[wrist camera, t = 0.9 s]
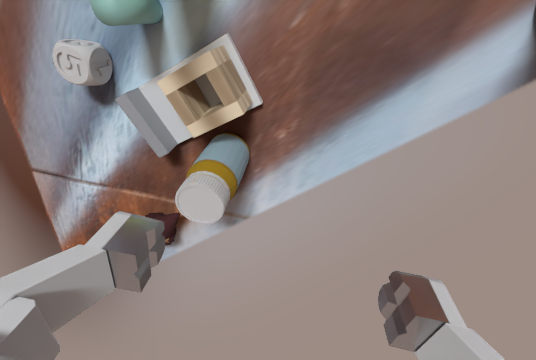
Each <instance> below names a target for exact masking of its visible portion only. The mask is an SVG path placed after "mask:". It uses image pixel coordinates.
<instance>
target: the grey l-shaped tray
mask: <svg viewBox="0 0 536 360" xmlns="http://www.w3.org/2000/svg"><path fill="white" fill-rule="evenodd" d="M223 45H224V47H225V49H226V50H227V52H228V54H229V56H230V58H231V60H232V62H233V64H234V66H235V68H236V70H237V72H238V74H239V76H240V78H241V79H242V81H243V83H244V85H245V87H246V89H247V91H248V93H249V95H250V97H251V99H252V103H251V104H250V106H249V107H248V109H247V110H246V111H248V110H250V109H252V108H254V107H256V106H258V105H260V104H262V103H263V101H262V99H261V97H260V95H259V93H258V91H257V89H256V87H255V85H254V83H253V81H252V79H251V77H250V75H249V73H248V71H247V69H246V67H245V65H244V63H243V61H242V58H241V56H240V54H239V52H238V50H237V48H236V46H235V44H234V42H233V40H232V38H231V36H230V34H229V33H227V34H225V35H223V36H222V37H220V38H218V39H217V40H215V41H214V42H212V43H210V44H209V45H207V46H205V47H204V48H202V49H201V50H199V51H197V52H196V53H194V54H192V55H191V56H189V57H187V58H186V59H184V60H183V61H181V62H179V63H178V64H176V65H174V66H173V67H171V68H170V69H168V70H166V71H165V72H163V73H161V74H160V75H158V76H157V77H155V78H153V79H152V80H150V81H148V82H147V83H145V84H143V85H142V86H140V87H139V88H136V89H134V90H132V91H129V92H127V93H125V94H123V95H121V96H120V97H118V98H117V99H115V101H116V102H117V103H118V105H119V106H120V107H121V109H122V110H123V111H124V112H125V114H126V115H127V116H128V118H129V119H130V120H131V122H132V123H133V124H134V125H135V127H136V128H137V129H138V131H139V132H140V133H141V135H142V136H143V137H144V139H145V140H146V141H147V142H148V144H149V145H150V146H151V148H152V149H153V150H154V152H155V153H156V154H157V156H158V157H161V156H164V155H166V154H168V153H169V152H170V151H171V150H172V149H173V148H174V147H175V146H176V145H177V144H179V143H181V142H183V141H185V140H187V139H189V138H191V137H193V136H192V135H191V133H190V132H189V130H188V129H187V127H186V126H185V124H184V123H183V121H182V120H181V118H180V117H179V115H178V114H177V112H176V111H175V109H174V108H173V106H172V105H171V103H170V102H169V100H168V99H167V97H166V96H165V94H164V93H163V91H162V90H161V88H160V87H159V85H158V84H157V82H158V81H160V80H161V79H163V78H165V77H166V76H168V75H170V74H171V73H173V72H175V71H176V70H178V69H179V68H181V67H183V66H184V65H186V64H188V63H189V62H191V61H193V60H194V59H196V58H198V57H199V56H201V55H203V54H204V53H206V52H208V51H209V50H212V49H215V48H218V47H220V46H223ZM194 80H195V81H196V83H197V85H198V86H199V88H200V90H201V91H202V93H203V95H204V96H205V98H206V100H207V101H208V103H209V105H210V106H211V107H213V106H215V105H217V104H219V103H221V100H220V98H219V96H218V95H217V93H216V91H215V89H214V88H213V86H212V84H211V82H210V81H209V79H208V77H207V75H206V74H203V75H201V76H200V77H198V78H196V79H194Z"/></svg>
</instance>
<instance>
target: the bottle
mask: <svg viewBox="0 0 536 360" xmlns="http://www.w3.org/2000/svg"><path fill="white" fill-rule="evenodd" d="M249 158H250V151H249V148H248V145H247V144H246V143H245V141H244V140H243V139H242V138H240V137H239V136H237V135H235V134H232V133H222V134H219V135H217V136H215V137H214V138H213V139H212V140H211V142H210V143H209V144H208V145H207V147H206V148H205V149H204V151H203V152H202V153H201V155H200V156H199V157H198V158H197V160H196V161H195V162H194V164H193V165H192V166H191V168H190V169H189V171H188V173H187V177H186V180H185V181H184V183H183V184H182V185H181V187H180V188H179V189H178V191H177V193H176V197H175V203H176V206H177V208H178V210H179V211H180V213H181V214H182V215H183V216H185V217H186V218H187V219H189V220H191V221H193V222H195V223H199V224H211V223H214V222H216V221H218V220H219V219H220V218H221V217H222V216H223V214H224V212H225V210H226V207H227V205H228V202H229V201H230V200H231V199H232V198H233V197H234V195H235V193H236V191H237V189H238V186H239V184H240V181H241V179H242V176H243V174H244V171H245V169H246V166H247V164H248V161H249Z"/></svg>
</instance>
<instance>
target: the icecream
mask: <svg viewBox="0 0 536 360" xmlns="http://www.w3.org/2000/svg"><path fill="white" fill-rule="evenodd" d="M179 216H180V214H179V213H174V214H168V215H164V214H163V213H149V214H148V215H146V216H145V217H148V218H152V219H156V220H160V221H163V222H164V227H165V229H164V231H163V233H162V235H163V236H164V237H165V245H170V244H171V242H173V241H174V237H175V234H176V228H175V225H176V223H177V220H178V218H179Z"/></svg>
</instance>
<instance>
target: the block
mask: <svg viewBox="0 0 536 360" xmlns="http://www.w3.org/2000/svg"><path fill="white" fill-rule="evenodd" d="M203 74H206V75H207V77H208V79H209V81H210V82H211V84H212V86H213V88H214V89H215V91H216V93H217V95H218V96H219V98H220V100H221V103H219V104H217V105H215V106H213V107H211V106H210V105H209V103H208V101H207V100H206V98H205V96H204V95H203V93H202V91H201V90H200V88H199V86H198V85H197V83H196V81H195V80H194V79H196V78H198V77H200V76H201V75H203ZM157 84H158V85H159V87H160V88H161V90H162V91H163V93H164V94H165V96H166V97H167V99H168V100H169V102H170V103H171V105H172V106H173V108H174V109H175V111H176V112H177V114H178V115H179V117H180V118H181V120H182V121H183V123H184V124H185V126H186V127H187V129H188V130H189V132H190V133H191V135H192V136H193V138H195V137H197V136H199V135H201V134H203V133H205V132H208V131H210V130H212V129H214V128H216V127H218V126H220V125H222V124H224V123H227V122H229V121H231V120H233V119H235V118H237V117H239V116H241V115H243V114H245V112H246V110H247V109H248V107H249V106H250V104H251V103H252V99H251V97H250V95H249V93H248V91H247V89H246V87H245V85H244V83H243V81H242V79H241V78H240V76H239V74H238V72H237V70H236V68H235V66H234V64H233V62H232V60H231V58H230V56H229V54H228V52H227V50H226V49H225V47H224V45H223V46H220V47H218V48H215V49H212V50H209V51H208V52H206V53H204V54H203V55H201V56H199V57H198V58H196V59H194V60H193V61H191V62H189V63H188V64H186V65H184V66H183V67H181V68H179V69H178V70H176V71H175V72H173V73H171V74H170V75H168V76H166V77H165V78H163V79H161V80H160V81H158V82H157Z"/></svg>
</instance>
